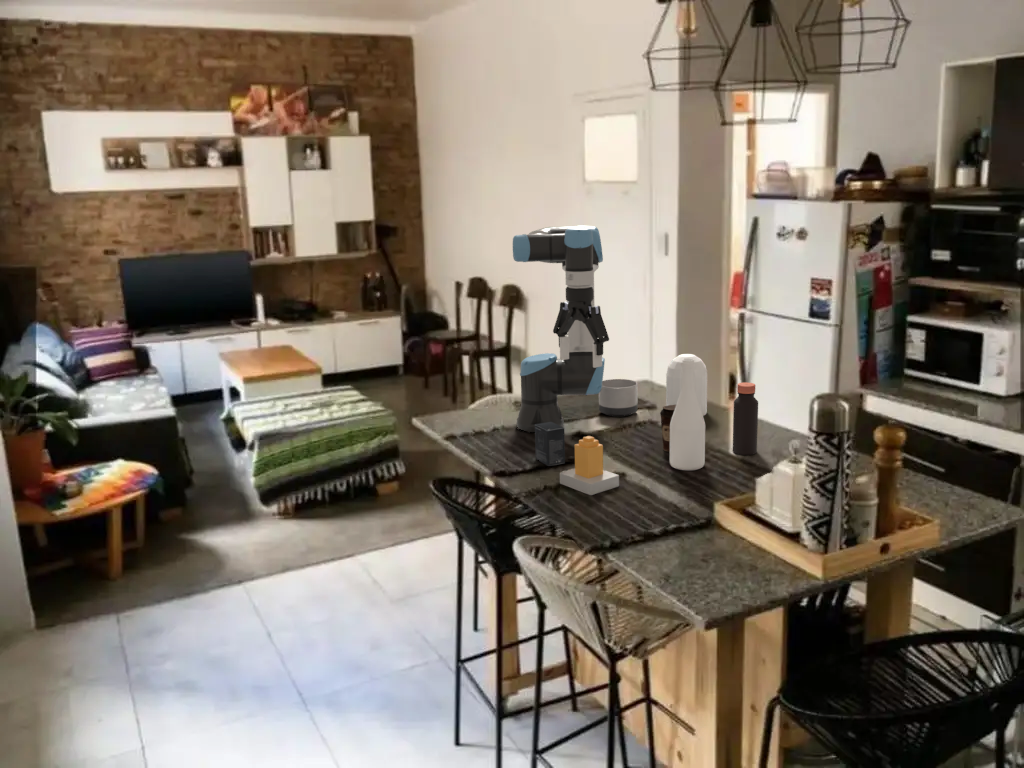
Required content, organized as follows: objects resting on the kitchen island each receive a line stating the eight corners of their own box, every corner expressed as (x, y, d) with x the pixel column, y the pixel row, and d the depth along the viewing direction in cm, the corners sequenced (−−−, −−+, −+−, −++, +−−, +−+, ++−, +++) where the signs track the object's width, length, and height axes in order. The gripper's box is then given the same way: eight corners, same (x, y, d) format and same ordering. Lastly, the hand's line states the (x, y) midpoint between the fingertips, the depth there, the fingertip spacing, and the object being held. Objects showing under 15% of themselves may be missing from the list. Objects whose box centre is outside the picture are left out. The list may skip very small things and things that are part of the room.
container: (665, 407, 310) (665, 350, 305) (705, 407, 308) (706, 349, 303) (666, 417, 297) (667, 358, 292) (708, 418, 295) (709, 358, 290)
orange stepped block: (575, 473, 237) (574, 437, 235) (589, 469, 240) (589, 433, 238) (588, 478, 233) (587, 441, 231) (603, 474, 236) (602, 437, 234)
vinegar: (758, 449, 261) (760, 382, 256) (754, 456, 255) (756, 388, 250) (735, 447, 264) (736, 380, 259) (730, 454, 258) (731, 386, 253)
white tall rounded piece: (684, 473, 243) (685, 365, 236) (662, 464, 252) (663, 358, 244) (711, 467, 248) (713, 360, 240) (689, 458, 256) (691, 354, 249)
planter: (639, 418, 298) (639, 387, 295) (600, 419, 298) (600, 388, 295) (635, 408, 310) (635, 378, 308) (597, 409, 310) (597, 379, 308)
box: (565, 463, 255) (564, 427, 253) (547, 466, 253) (547, 430, 250) (552, 456, 262) (551, 420, 260) (535, 459, 260) (534, 423, 257)
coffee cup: (688, 455, 259) (689, 411, 255) (659, 454, 260) (659, 410, 257) (689, 445, 267) (689, 403, 264) (660, 445, 268) (660, 402, 265)
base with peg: (552, 480, 241) (551, 452, 240) (580, 472, 247) (580, 444, 245) (590, 495, 230) (590, 465, 228) (619, 486, 236) (618, 456, 234)
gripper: (539, 283, 251) (541, 358, 256) (600, 291, 232) (601, 372, 237) (560, 281, 256) (561, 354, 261) (622, 288, 236) (622, 367, 241)
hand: (580, 363), depth 249 cm, fingers open, 13 cm apart
